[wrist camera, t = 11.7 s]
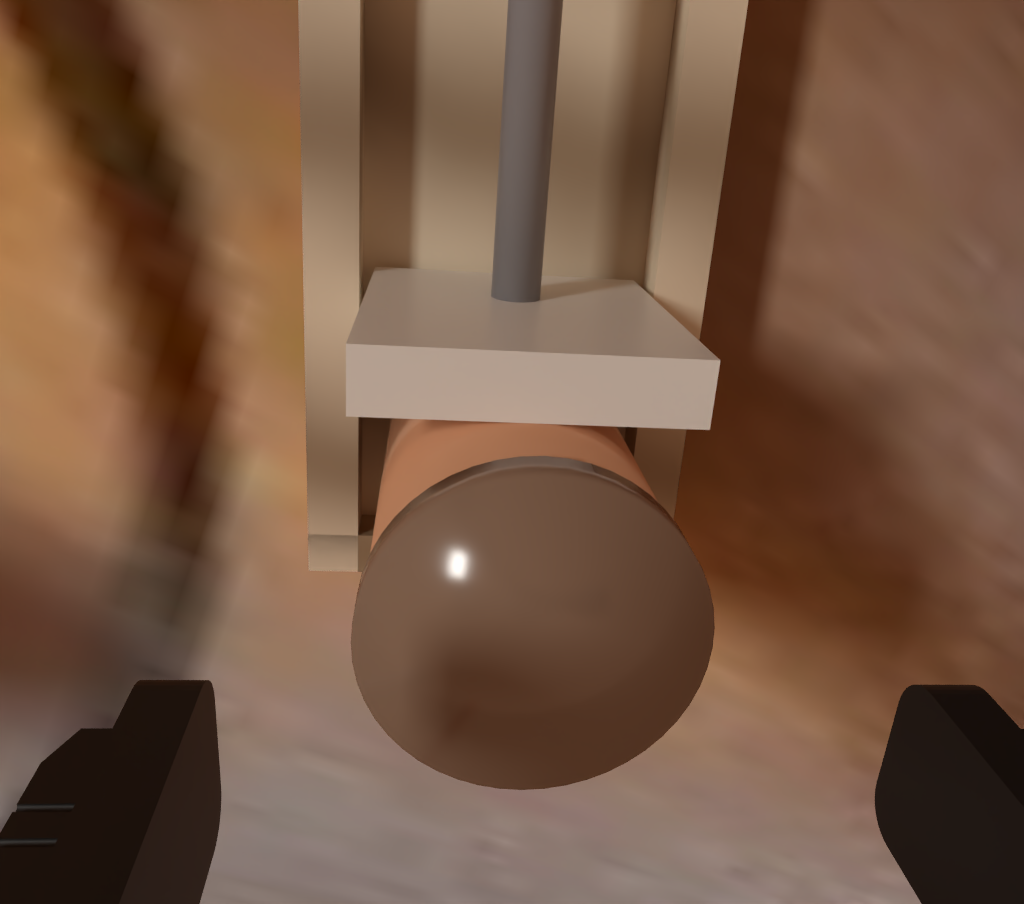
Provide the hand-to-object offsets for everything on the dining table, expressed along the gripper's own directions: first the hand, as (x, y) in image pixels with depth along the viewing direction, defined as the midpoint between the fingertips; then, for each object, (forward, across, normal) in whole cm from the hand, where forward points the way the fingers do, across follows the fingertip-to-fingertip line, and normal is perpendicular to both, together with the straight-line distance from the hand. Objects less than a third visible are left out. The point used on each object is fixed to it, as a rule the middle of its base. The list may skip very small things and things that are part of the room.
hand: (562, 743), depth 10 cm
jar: (+13, 0, +1) cm, 13 cm away
